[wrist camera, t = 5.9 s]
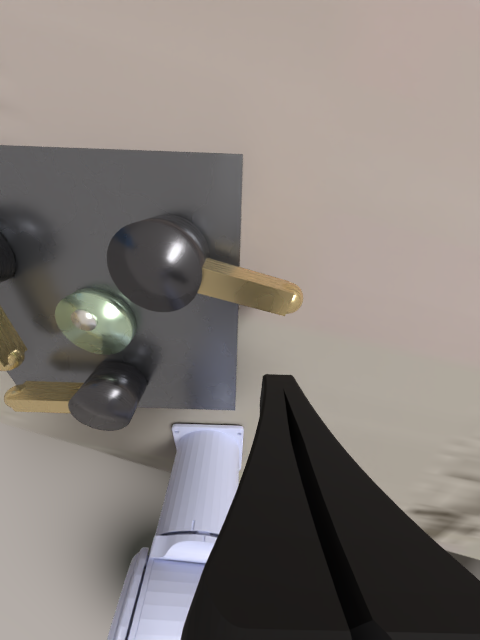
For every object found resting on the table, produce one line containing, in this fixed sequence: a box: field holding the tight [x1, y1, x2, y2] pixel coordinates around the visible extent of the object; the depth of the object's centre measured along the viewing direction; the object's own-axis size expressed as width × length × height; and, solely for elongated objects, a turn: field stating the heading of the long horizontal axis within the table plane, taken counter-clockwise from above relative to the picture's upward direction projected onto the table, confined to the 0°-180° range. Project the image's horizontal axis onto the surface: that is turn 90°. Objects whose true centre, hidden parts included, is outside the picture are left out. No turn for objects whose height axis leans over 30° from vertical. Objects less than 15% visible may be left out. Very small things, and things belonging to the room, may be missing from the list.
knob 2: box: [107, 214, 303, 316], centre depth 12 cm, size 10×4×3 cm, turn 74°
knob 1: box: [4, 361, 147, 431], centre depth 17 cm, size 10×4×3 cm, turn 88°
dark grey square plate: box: [0, 145, 243, 410], centre depth 16 cm, size 20×20×2 cm
